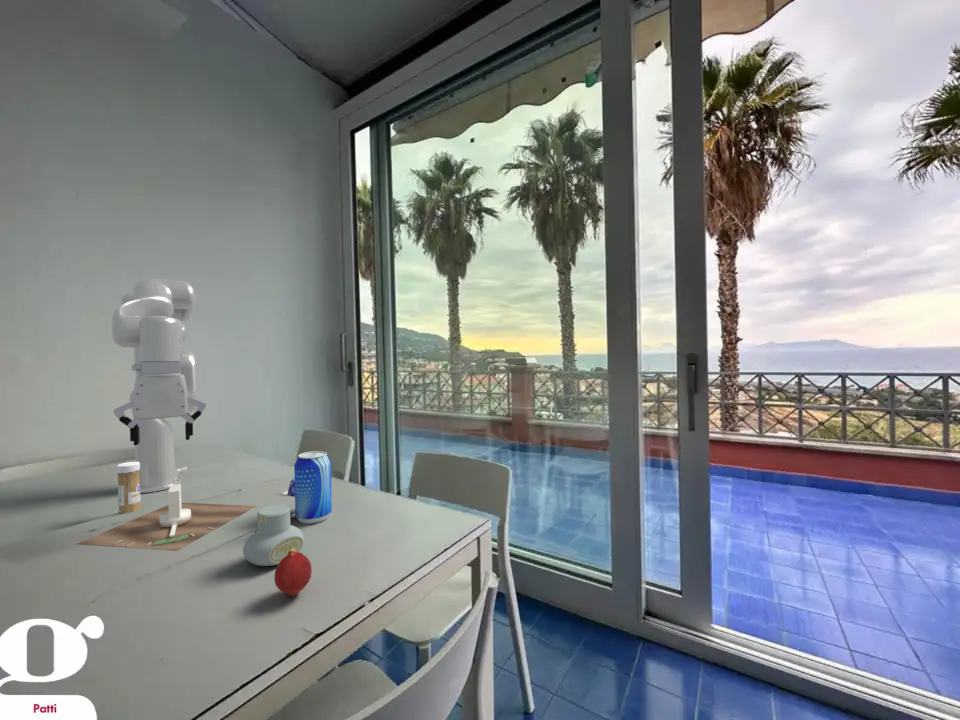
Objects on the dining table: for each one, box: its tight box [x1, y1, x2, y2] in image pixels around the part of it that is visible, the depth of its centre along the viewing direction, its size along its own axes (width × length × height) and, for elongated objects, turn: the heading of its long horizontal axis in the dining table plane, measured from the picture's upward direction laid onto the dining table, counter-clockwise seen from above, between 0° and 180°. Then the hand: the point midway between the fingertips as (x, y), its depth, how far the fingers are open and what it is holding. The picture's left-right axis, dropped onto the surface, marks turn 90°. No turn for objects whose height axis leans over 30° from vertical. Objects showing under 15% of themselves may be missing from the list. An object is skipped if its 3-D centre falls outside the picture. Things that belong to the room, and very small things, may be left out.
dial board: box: [76, 502, 257, 551], centre depth 98 cm, size 24×24×2 cm
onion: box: [274, 549, 313, 597], centre depth 71 cm, size 6×6×8 cm
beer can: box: [293, 450, 333, 525], centre depth 104 cm, size 8×8×16 cm
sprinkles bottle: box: [116, 461, 142, 514], centre depth 106 cm, size 5×5×14 cm
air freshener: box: [242, 504, 305, 567], centre depth 83 cm, size 11×8×10 cm
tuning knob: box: [159, 483, 191, 537], centre depth 95 cm, size 12×6×8 cm, turn 32°
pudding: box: [281, 477, 295, 498], centre depth 120 cm, size 12×12×5 cm
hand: (163, 441), depth 98 cm, fingers open, 9 cm apart
